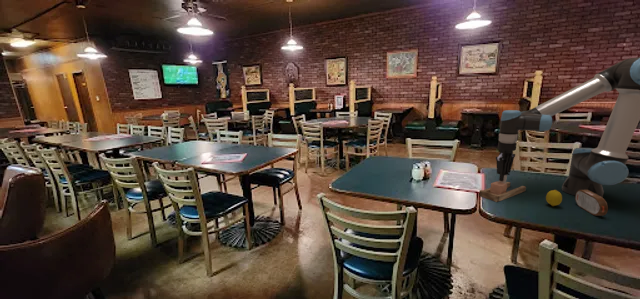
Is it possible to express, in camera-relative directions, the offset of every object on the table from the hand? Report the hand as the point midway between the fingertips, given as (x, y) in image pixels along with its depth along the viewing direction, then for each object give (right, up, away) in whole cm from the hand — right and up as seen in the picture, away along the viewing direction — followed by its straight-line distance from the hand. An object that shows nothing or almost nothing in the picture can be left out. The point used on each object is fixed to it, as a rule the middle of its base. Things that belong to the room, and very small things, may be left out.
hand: (501, 186), depth 138 cm
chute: (+1, -4, +1) cm, 4 cm away
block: (-3, -4, -1) cm, 5 cm away
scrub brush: (+24, -8, -20) cm, 33 cm away
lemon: (+13, -7, -15) cm, 21 cm away
